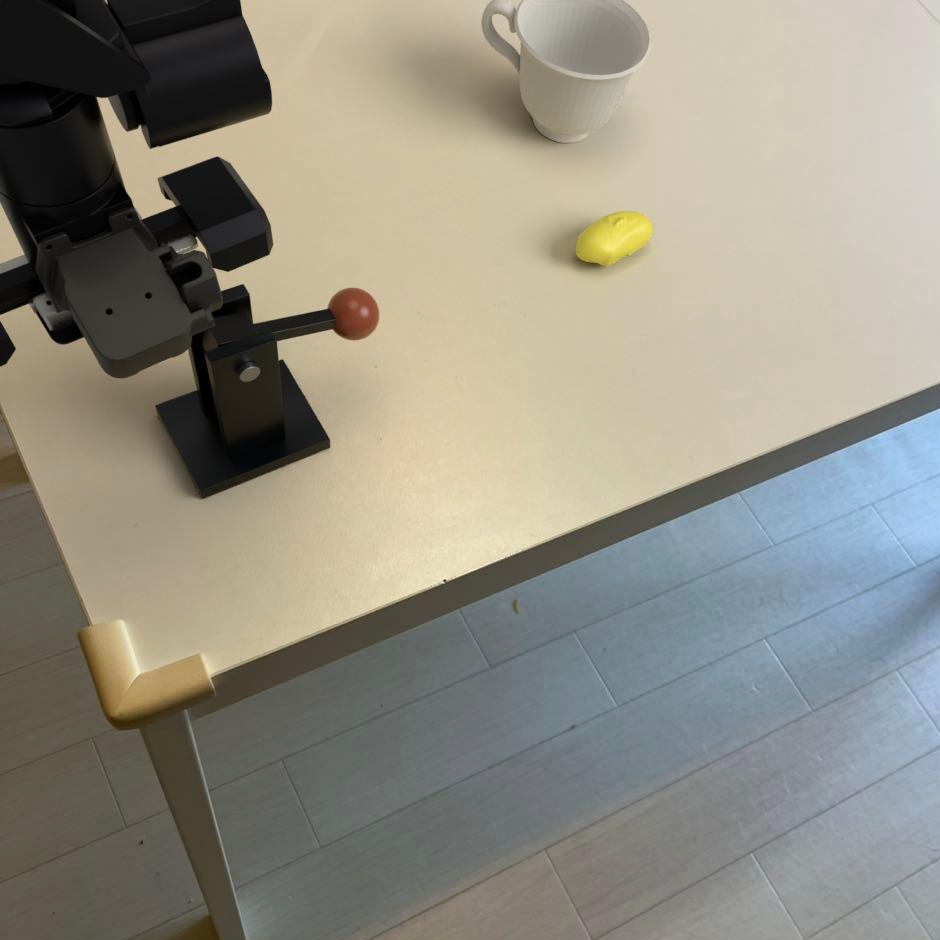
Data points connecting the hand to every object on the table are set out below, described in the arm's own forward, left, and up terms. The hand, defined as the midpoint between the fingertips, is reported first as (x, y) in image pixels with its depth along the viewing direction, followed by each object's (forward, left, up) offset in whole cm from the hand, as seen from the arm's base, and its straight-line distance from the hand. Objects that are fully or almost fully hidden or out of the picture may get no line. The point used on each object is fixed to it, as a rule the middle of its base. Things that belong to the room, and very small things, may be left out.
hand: (126, 355), depth 62 cm
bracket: (+6, +3, -13) cm, 14 cm away
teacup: (+30, +40, -13) cm, 52 cm away
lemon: (+35, +24, -13) cm, 44 cm away
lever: (+9, +5, -5) cm, 12 cm away
